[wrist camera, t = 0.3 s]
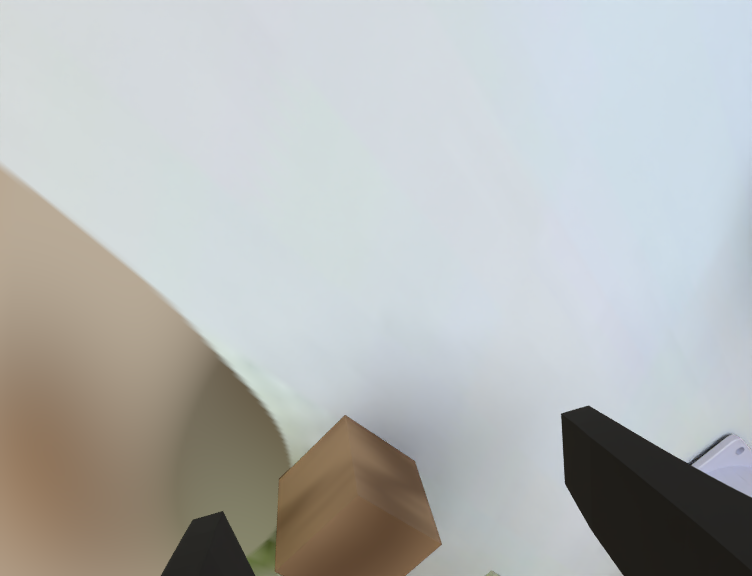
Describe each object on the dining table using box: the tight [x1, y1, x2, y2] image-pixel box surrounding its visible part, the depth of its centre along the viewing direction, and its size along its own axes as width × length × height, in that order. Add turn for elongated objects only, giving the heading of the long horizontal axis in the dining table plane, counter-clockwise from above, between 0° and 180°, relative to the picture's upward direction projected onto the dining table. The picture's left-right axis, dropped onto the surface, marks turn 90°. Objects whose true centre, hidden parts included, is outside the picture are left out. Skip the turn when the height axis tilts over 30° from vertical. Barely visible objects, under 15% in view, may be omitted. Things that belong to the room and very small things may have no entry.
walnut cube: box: [275, 415, 442, 576], centre depth 19 cm, size 4×4×4 cm
